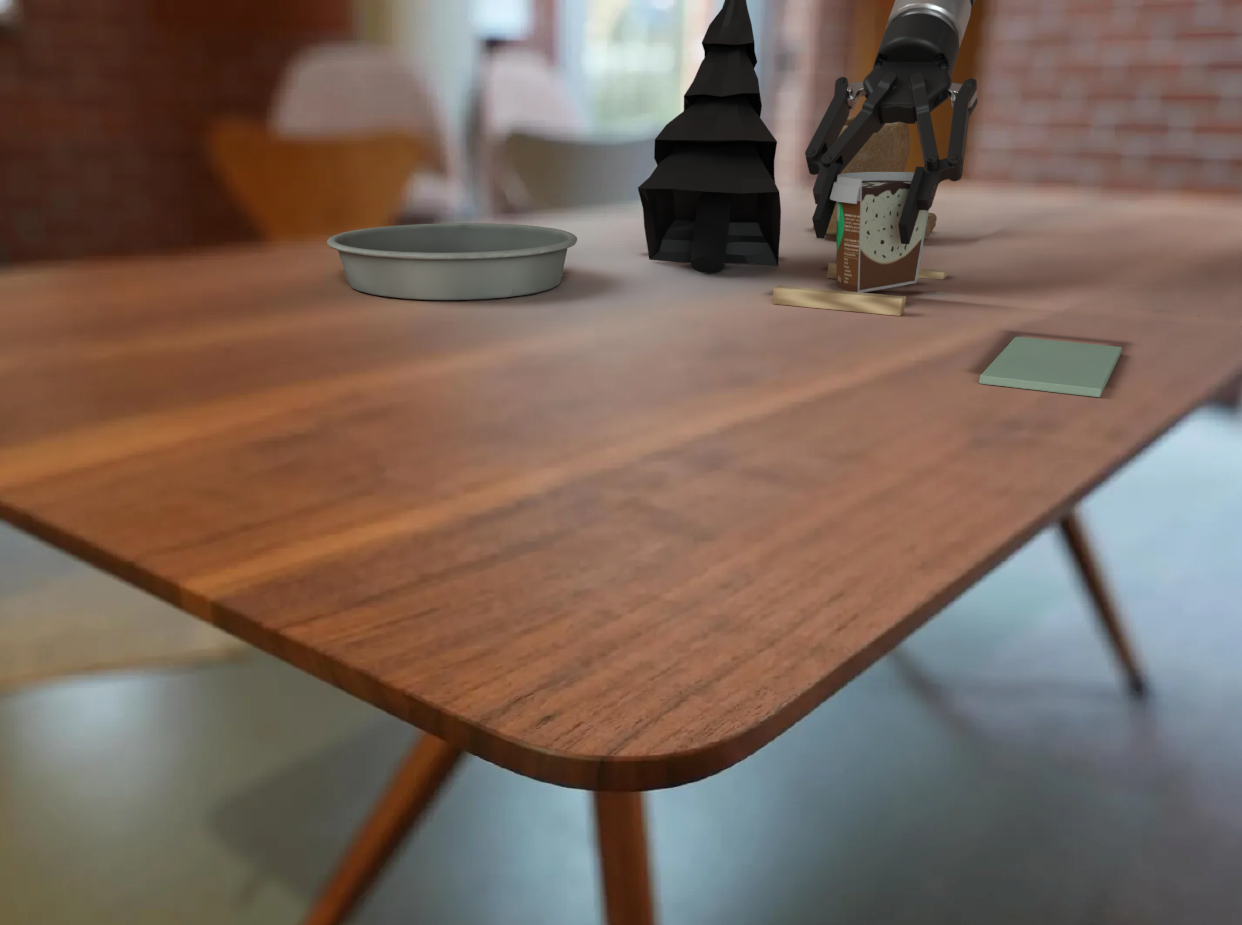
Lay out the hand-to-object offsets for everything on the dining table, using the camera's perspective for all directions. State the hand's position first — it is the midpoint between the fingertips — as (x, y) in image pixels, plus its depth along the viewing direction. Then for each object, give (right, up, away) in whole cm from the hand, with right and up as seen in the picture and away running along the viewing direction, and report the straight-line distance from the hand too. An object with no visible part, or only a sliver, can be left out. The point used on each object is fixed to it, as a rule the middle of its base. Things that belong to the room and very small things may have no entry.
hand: (860, 231), depth 108 cm
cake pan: (-39, -2, +10) cm, 40 cm away
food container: (+1, -3, +5) cm, 7 cm away
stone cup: (+10, +13, +42) cm, 45 cm away
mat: (+9, -18, -22) cm, 30 cm away
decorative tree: (-12, +4, +22) cm, 26 cm away
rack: (+1, -4, +6) cm, 7 cm away
